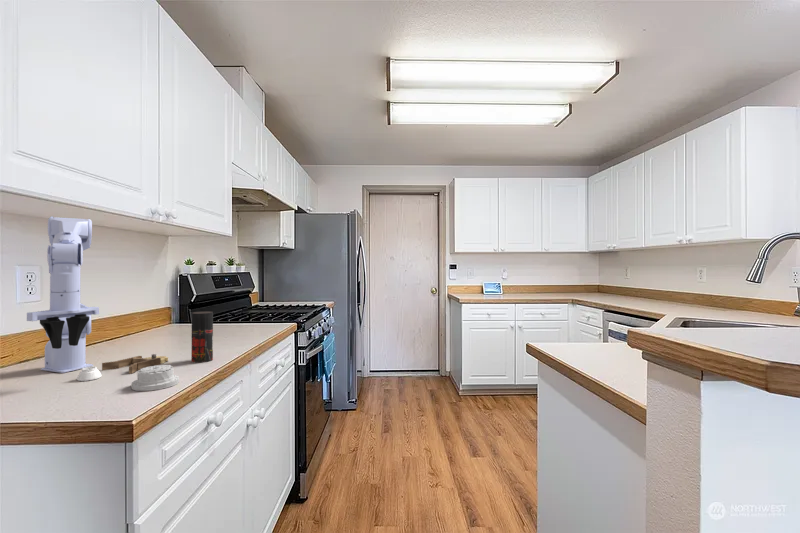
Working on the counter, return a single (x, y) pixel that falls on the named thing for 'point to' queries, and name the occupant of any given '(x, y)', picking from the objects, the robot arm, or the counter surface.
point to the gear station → (135, 363)
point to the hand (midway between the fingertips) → (65, 346)
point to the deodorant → (202, 337)
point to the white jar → (89, 374)
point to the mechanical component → (155, 378)
